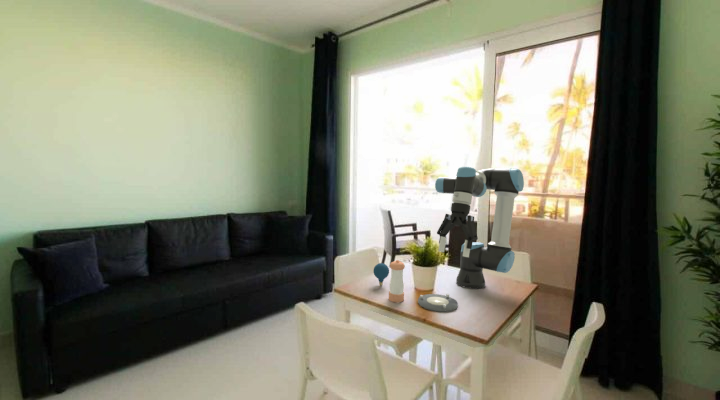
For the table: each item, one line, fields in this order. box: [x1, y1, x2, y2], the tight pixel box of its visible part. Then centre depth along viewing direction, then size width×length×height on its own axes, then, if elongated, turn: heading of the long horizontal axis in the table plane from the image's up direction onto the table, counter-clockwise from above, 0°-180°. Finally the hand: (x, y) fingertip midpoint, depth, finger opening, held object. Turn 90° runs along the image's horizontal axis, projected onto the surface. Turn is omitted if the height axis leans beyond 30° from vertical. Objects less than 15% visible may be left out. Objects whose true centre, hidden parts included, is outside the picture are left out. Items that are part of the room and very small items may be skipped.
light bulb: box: [373, 262, 390, 286], centre depth 176 cm, size 8×8×12 cm
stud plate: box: [417, 293, 459, 313], centre depth 154 cm, size 18×18×3 cm
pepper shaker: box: [388, 259, 406, 303], centre depth 157 cm, size 7×7×19 cm
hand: (452, 254), depth 135 cm, fingers open, 13 cm apart
